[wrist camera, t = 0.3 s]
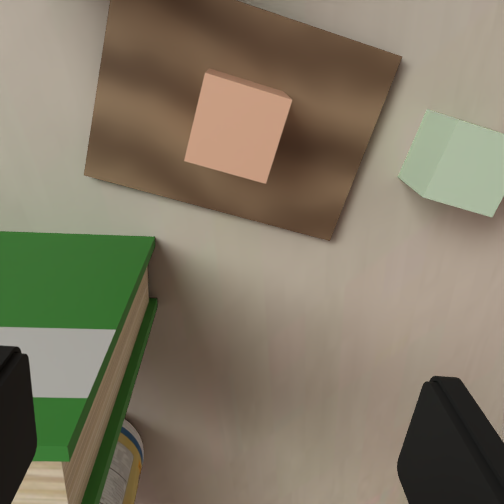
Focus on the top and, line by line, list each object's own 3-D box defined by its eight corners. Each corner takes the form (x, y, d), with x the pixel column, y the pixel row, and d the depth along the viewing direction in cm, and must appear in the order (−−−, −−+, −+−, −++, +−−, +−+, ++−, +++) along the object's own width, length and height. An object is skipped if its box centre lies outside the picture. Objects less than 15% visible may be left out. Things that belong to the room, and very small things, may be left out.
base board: (119, -38, 33) (116, -41, 32) (398, 56, 36) (402, 56, 35) (87, 172, 39) (83, 175, 38) (327, 236, 42) (329, 240, 41)
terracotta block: (209, 68, 35) (204, 72, 30) (283, 91, 36) (292, 99, 31) (191, 144, 37) (184, 160, 32) (261, 164, 38) (265, 183, 33)
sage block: (426, 108, 38) (458, 119, 33) (490, 129, 39) (532, 143, 33) (397, 176, 40) (422, 197, 35) (458, 194, 41) (492, 217, 36)
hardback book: (154, 236, 42) (67, 446, 20) (157, 306, 45) (84, 554, 23) (-45, 229, 41) (-364, 441, 19) (-28, 301, 44) (-288, 555, 22)
